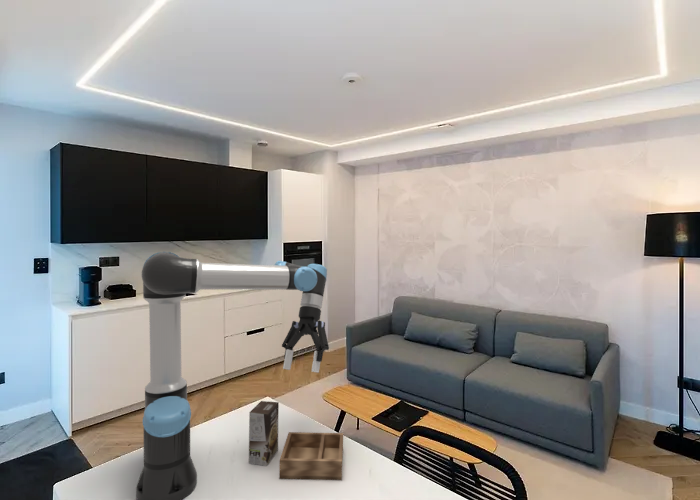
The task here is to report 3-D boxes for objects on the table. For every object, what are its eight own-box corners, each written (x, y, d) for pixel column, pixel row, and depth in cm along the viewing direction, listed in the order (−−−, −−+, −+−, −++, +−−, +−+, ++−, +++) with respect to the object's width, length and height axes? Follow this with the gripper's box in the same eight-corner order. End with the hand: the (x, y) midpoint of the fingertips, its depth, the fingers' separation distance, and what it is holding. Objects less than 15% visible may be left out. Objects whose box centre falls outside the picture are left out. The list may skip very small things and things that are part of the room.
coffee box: (267, 466, 116) (268, 414, 116) (248, 463, 118) (248, 412, 117) (279, 450, 125) (279, 401, 125) (260, 447, 127) (261, 399, 126)
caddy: (279, 478, 110) (279, 460, 110) (288, 448, 126) (288, 432, 126) (341, 480, 110) (341, 461, 110) (343, 449, 126) (343, 433, 126)
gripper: (344, 309, 129) (336, 374, 121) (294, 311, 144) (283, 369, 137) (330, 303, 124) (320, 371, 116) (279, 306, 139) (267, 366, 132)
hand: (300, 370), depth 126 cm, fingers open, 13 cm apart
